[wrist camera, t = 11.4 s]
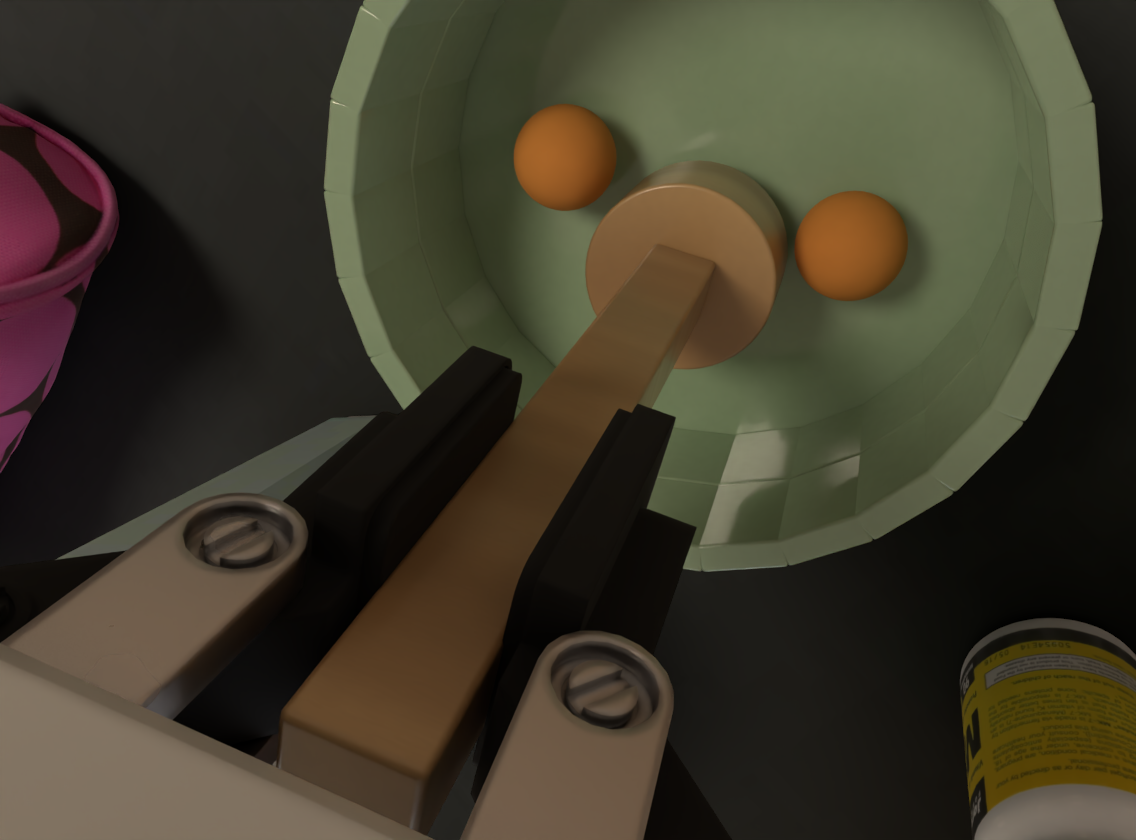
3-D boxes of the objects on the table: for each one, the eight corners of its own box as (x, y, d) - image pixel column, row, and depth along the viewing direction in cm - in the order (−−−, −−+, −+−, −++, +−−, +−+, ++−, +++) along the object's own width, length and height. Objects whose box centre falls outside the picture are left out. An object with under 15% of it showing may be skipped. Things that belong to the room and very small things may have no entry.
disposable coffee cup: (216, 490, 32) (-221, 840, 20) (337, 266, 27) (-170, 557, 14) (451, 671, 33) (171, 1127, 20) (621, 489, 27) (377, 967, 14)
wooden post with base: (637, 136, 21) (124, 521, 7) (814, 190, 20) (634, 731, 6) (595, 301, 23) (141, 840, 9) (754, 354, 22) (523, 1024, 9)
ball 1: (544, 84, 22) (508, 99, 20) (638, 112, 21) (611, 130, 19) (525, 181, 23) (490, 204, 21) (614, 209, 23) (586, 235, 21)
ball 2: (820, 166, 21) (811, 190, 19) (925, 197, 20) (928, 225, 18) (785, 263, 22) (773, 296, 20) (883, 294, 22) (881, 331, 20)
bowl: (497, -236, 20) (358, -298, 15) (1189, -72, 17) (1309, -78, 12) (414, 346, 27) (303, 439, 22) (892, 516, 25) (890, 664, 20)
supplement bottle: (933, 632, 26) (947, 892, 19) (1116, 594, 24) (1209, 872, 17) (992, 756, 27) (1025, 1043, 20) (1171, 732, 25) (1279, 1044, 18)
